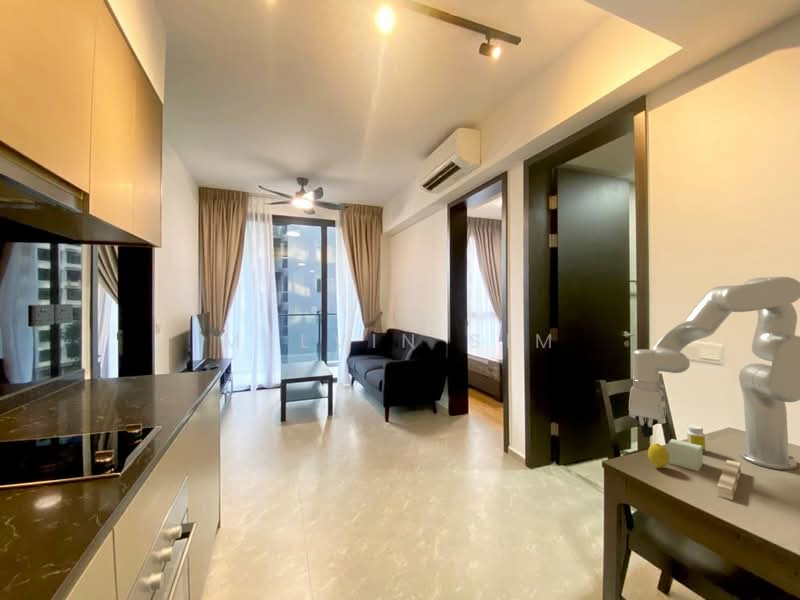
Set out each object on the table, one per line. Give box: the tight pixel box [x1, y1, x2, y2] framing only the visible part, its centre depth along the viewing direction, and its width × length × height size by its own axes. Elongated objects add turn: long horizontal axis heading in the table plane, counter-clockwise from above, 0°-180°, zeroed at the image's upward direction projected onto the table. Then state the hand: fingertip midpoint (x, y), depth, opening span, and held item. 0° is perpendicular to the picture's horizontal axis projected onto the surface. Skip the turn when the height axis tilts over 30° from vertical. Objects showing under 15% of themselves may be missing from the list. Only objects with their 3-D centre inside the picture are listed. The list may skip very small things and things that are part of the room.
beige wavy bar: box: [716, 459, 742, 501], centre depth 101 cm, size 20×3×3 cm, turn 131°
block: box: [665, 438, 704, 472], centre depth 114 cm, size 7×8×6 cm
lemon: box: [647, 443, 669, 469], centre depth 112 cm, size 6×6×8 cm
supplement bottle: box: [686, 424, 706, 454], centre depth 122 cm, size 5×5×8 cm
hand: (647, 436), depth 121 cm, fingers closed
